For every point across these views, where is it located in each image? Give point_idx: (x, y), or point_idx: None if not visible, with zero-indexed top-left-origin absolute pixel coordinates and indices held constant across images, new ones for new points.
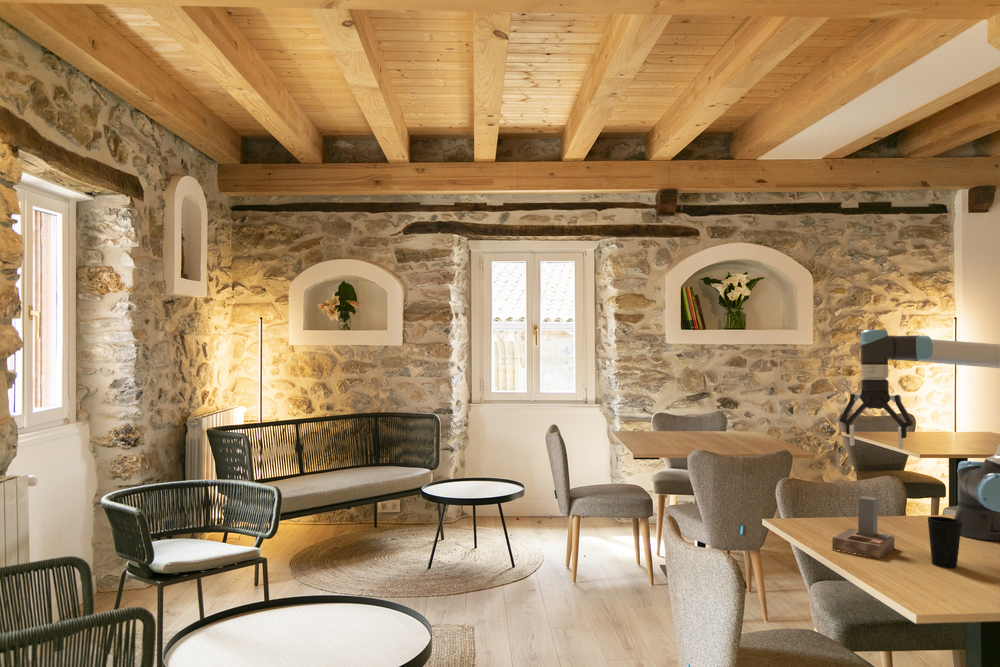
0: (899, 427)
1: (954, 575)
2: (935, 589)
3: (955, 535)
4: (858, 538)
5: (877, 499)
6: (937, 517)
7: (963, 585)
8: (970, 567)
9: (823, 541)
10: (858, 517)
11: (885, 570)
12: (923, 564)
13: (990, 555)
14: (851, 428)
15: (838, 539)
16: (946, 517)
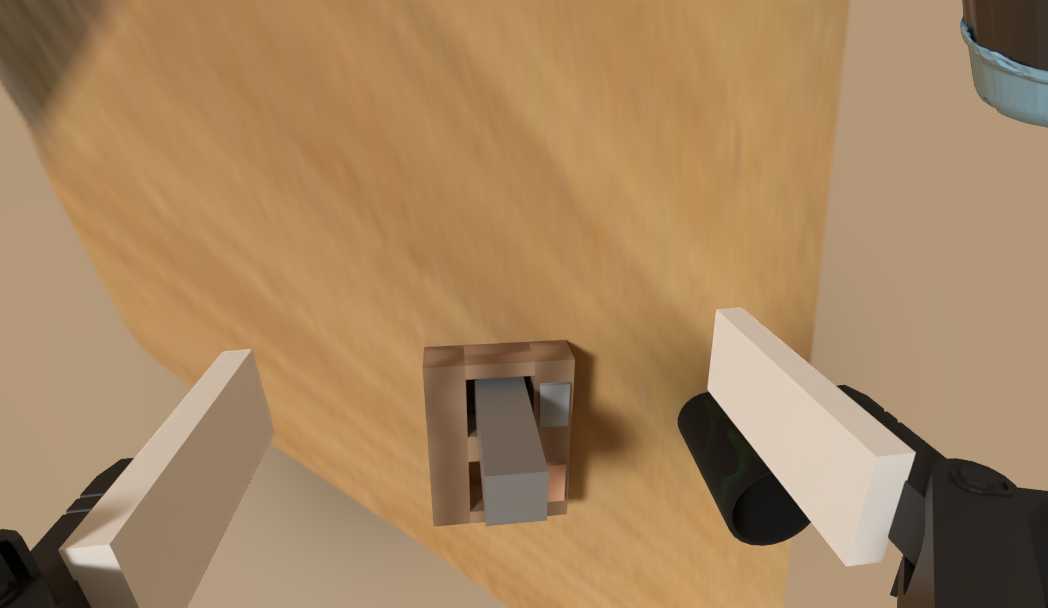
0: (867, 533)
1: None
2: (696, 601)
3: (780, 496)
4: None
5: (547, 468)
6: (754, 480)
7: None
8: None
9: (371, 430)
10: (480, 468)
11: (593, 561)
12: (660, 449)
13: (826, 189)
14: (178, 602)
15: (452, 523)
16: None
